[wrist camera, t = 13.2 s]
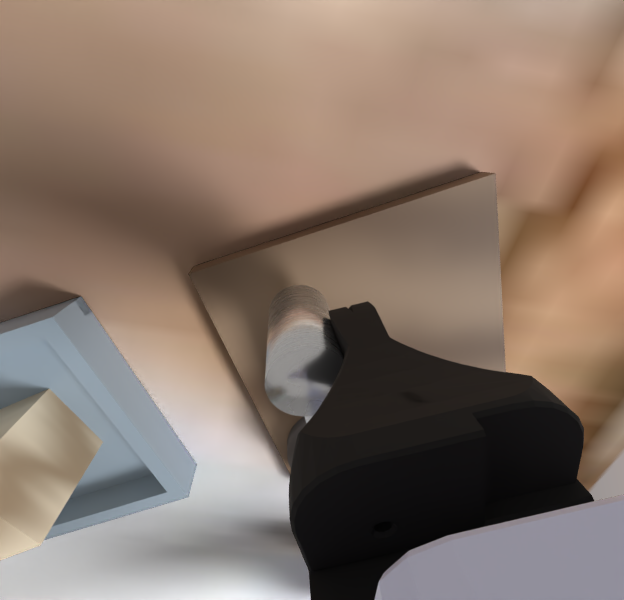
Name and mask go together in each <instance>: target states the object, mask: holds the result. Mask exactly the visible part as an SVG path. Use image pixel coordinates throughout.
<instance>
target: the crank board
mask: <svg viewBox="0 0 624 600" xmlns="http://www.w3.org/2000/svg"><path fill="white" fill-rule="evenodd" d="M189 276H190V278H191V280H192V282H193V284H194V286H195V288H196V290H197V292H198V294H199V296H200V298H201V300H202V302H203V304H204V306H205V308H206V310H207V312H208V314H209V316H210V318H211V320H212V322H213V323H214V325H215V327H216V329H217V331H218V333H219V335H220V337H221V339H222V341H223V343H224V345H225V347H226V349H227V351H228V353H229V355H230V357H231V359H232V361H233V363H234V365H235V367H236V369H237V371H238V373H239V375H240V377H241V379H242V381H243V383H244V385H245V387H246V388H247V390H248V392H249V394H250V396H251V398H252V400H253V402H254V404H255V406H256V408H257V410H258V412H259V414H260V416H261V418H262V420H263V422H264V424H265V426H266V428H267V430H268V432H269V434H270V436H271V438H272V440H273V442H274V444H275V446H276V448H277V450H278V452H279V453H280V455H281V457H282V459H283V461H284V463H285V465H286V467H287V469H288V471H289V473H291V465H292V459H293V454H294V449H295V444H296V440H297V436H298V433H299V432H300V431H301V430H302V429H303V428H304V426H305V425H306V420H305V416H295V415H291V414H288V413H285V412H283V411H281V410H280V409H278V408H277V407H276V406H274V405H273V404H272V402H271V401H270V400H269V398H268V396H267V394H266V391H265V369H266V353H267V336H268V320H269V308H270V304H271V302H272V300H273V298H274V297H275V296H276V295H277V294H278V293H279V292H280V291H281V290H283V289H285V288H287V287H290V286H293V285H306V286H310V287H313V288H315V289H316V290H318V291H319V292H320V293H321V294H322V295H323V296H324V297H325V299H326V301H327V303H328V306H329V310H334V309H338V308H342V307H347V308H349V307H350V306H351V305H355V304H359V303H363V302H367V301H368V302H370V303H371V304H372V305H373V306H374V307H375V308H376V310H377V312H378V314H379V316H380V318H381V320H382V323H383V325H384V327H385V329H386V331H387V333H388V335H389V337H390V338H392V339H394V340H396V341H398V342H400V343H402V344H404V345H407V346H409V347H411V348H414V349H416V350H418V351H421V352H424V353H426V354H429V355H433V356H436V357H439V358H442V359H445V360H448V361H452V362H456V363H460V364H464V365H469V366H473V367H478V368H482V369H487V370H494V371H501V372H506V369H505V349H504V329H503V310H502V290H501V271H500V251H499V231H498V212H497V192H496V173H487V172H480V173H477V174H474V175H470V176H467V177H464V178H461V179H458V180H455V181H452V182H449V183H446V184H443V185H440V186H437V187H434V188H431V189H428V190H425V191H422V192H419V193H416V194H413V195H410V196H407V197H403V198H400V199H397V200H394V201H391V202H388V203H385V204H382V205H379V206H376V207H373V208H370V209H367V210H364V211H361V212H358V213H355V214H352V215H349V216H346V217H343V218H340V219H336V220H333V221H330V222H327V223H324V224H321V225H318V226H315V227H312V228H309V229H306V230H303V231H300V232H297V233H294V234H291V235H288V236H285V237H282V238H279V239H276V240H273V241H269V242H266V243H263V244H260V245H257V246H254V247H251V248H248V249H245V250H242V251H239V252H236V253H233V254H230V255H227V256H224V257H221V258H218V259H215V260H212V261H209V262H206V263H202V264H199V265H196V266H194V267H193V268H192V270H191V271H190V272H189Z"/></svg>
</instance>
